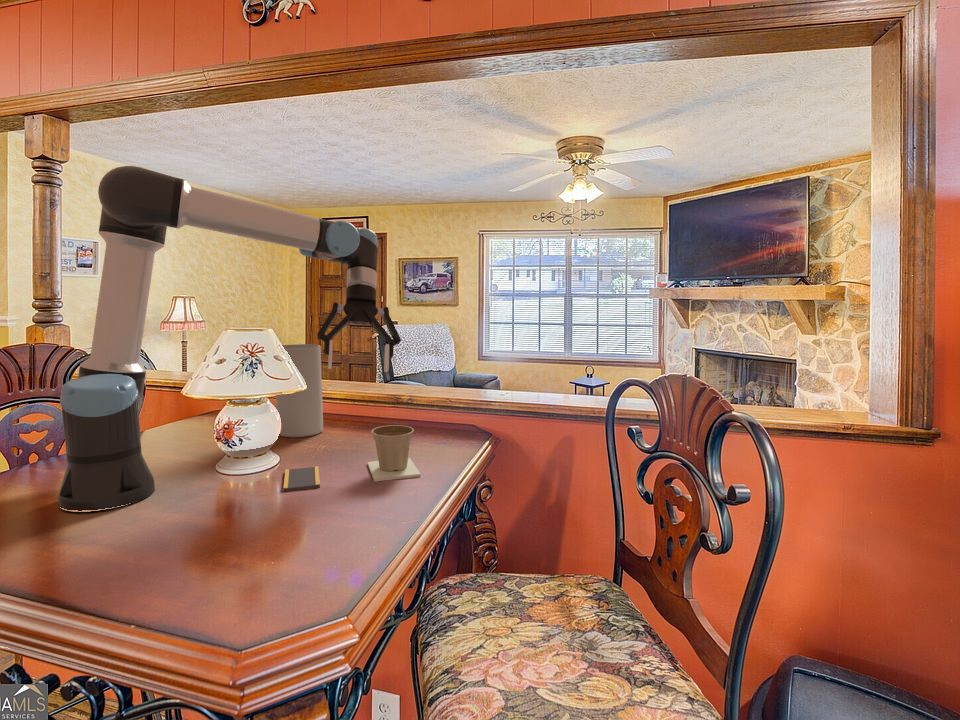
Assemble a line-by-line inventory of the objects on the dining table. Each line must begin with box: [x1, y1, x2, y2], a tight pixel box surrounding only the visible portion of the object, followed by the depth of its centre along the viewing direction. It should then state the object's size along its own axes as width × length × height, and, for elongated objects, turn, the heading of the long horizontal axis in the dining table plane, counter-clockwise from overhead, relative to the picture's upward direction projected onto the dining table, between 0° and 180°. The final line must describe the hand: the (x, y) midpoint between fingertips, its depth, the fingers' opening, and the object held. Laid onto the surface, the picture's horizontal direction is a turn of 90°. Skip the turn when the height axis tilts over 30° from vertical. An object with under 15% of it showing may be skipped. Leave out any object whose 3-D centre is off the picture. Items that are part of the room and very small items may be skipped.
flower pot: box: [370, 424, 415, 471], centre depth 117 cm, size 9×9×9 cm
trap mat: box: [283, 465, 321, 492], centre depth 111 cm, size 7×12×1 cm, turn 19°
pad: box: [367, 457, 421, 482], centre depth 117 cm, size 10×12×1 cm
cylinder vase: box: [275, 343, 324, 439], centre depth 148 cm, size 12×12×25 cm
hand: (358, 369), depth 127 cm, fingers open, 13 cm apart
